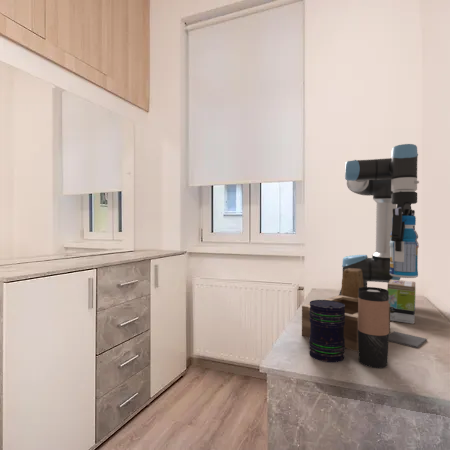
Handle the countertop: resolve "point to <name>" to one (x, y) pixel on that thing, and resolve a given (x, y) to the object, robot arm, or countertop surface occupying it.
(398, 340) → the charcoal mat
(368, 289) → the travel mug
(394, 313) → the tea box
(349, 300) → the walnut box
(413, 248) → the beverage bottle
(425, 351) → the countertop surface
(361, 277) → the block
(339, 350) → the storage jar
